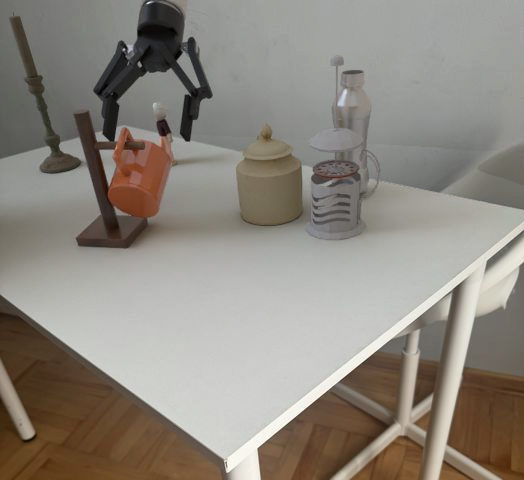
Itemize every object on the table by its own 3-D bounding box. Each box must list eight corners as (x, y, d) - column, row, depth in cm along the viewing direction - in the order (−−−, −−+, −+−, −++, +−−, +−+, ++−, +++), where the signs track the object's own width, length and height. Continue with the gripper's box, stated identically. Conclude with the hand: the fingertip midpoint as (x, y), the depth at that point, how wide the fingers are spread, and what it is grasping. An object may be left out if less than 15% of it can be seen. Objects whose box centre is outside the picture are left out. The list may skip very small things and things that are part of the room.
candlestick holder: (84, 157, 126) (42, 7, 107) (76, 171, 119) (29, 12, 100) (45, 161, 126) (-4, 11, 107) (35, 175, 119) (-19, 17, 100)
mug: (121, 217, 90) (134, 173, 93) (166, 218, 88) (178, 174, 91) (85, 166, 79) (102, 119, 82) (136, 167, 77) (151, 118, 80)
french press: (313, 211, 93) (310, 48, 77) (380, 215, 90) (392, 46, 74) (298, 237, 86) (292, 63, 70) (371, 243, 82) (382, 62, 67)
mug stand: (77, 245, 89) (37, 120, 77) (102, 222, 96) (69, 103, 84) (152, 249, 86) (123, 119, 74) (172, 224, 93) (148, 102, 81)
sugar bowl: (218, 204, 98) (207, 119, 89) (269, 188, 103) (263, 105, 93) (262, 232, 88) (254, 138, 79) (316, 213, 92) (314, 122, 83)
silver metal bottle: (362, 201, 95) (367, 77, 82) (326, 197, 97) (326, 76, 85) (372, 187, 99) (379, 67, 87) (337, 184, 102) (339, 67, 89)
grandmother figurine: (153, 162, 120) (141, 101, 112) (168, 157, 121) (157, 97, 113) (170, 170, 115) (159, 107, 107) (185, 165, 116) (175, 103, 108)
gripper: (240, 28, 90) (225, 148, 88) (106, 35, 96) (89, 148, 94) (227, -6, 83) (211, 125, 81) (83, 4, 88) (65, 126, 86)
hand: (145, 138), depth 87 cm, fingers open, 13 cm apart
